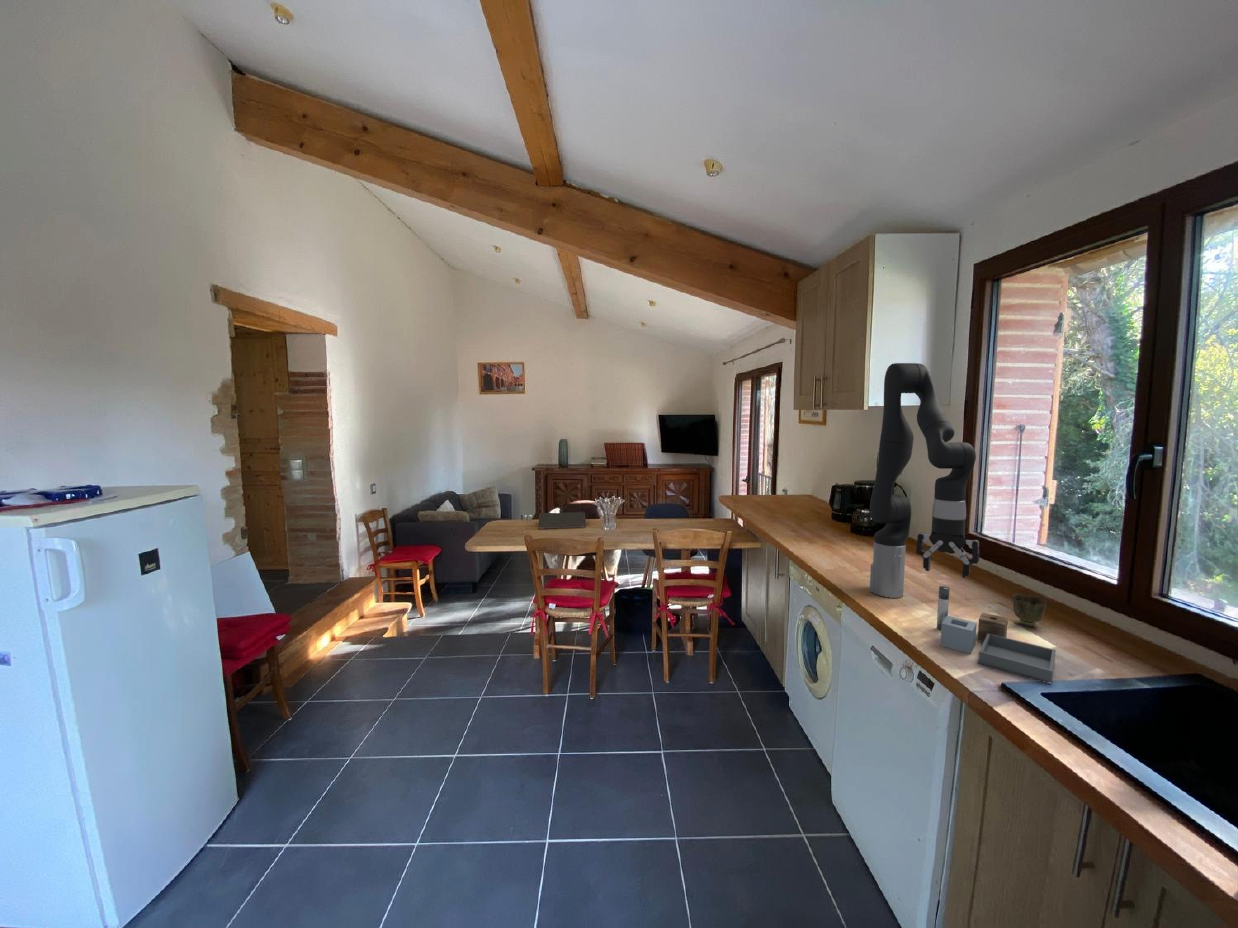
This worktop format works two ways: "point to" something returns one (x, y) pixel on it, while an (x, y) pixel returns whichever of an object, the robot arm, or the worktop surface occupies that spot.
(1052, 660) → the tray
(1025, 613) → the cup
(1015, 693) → the worktop surface
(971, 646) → the grey socket cube
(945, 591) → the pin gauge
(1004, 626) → the walnut block
